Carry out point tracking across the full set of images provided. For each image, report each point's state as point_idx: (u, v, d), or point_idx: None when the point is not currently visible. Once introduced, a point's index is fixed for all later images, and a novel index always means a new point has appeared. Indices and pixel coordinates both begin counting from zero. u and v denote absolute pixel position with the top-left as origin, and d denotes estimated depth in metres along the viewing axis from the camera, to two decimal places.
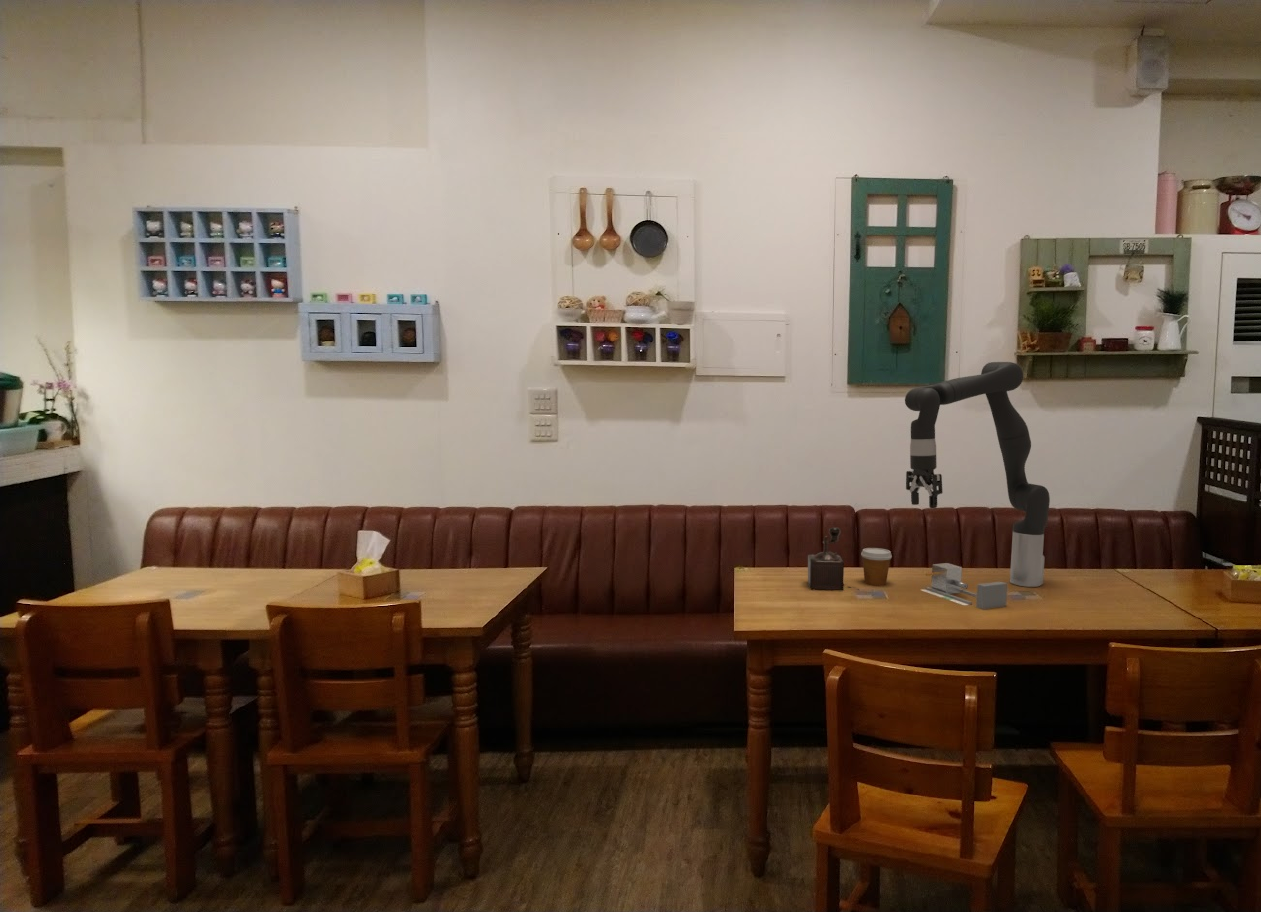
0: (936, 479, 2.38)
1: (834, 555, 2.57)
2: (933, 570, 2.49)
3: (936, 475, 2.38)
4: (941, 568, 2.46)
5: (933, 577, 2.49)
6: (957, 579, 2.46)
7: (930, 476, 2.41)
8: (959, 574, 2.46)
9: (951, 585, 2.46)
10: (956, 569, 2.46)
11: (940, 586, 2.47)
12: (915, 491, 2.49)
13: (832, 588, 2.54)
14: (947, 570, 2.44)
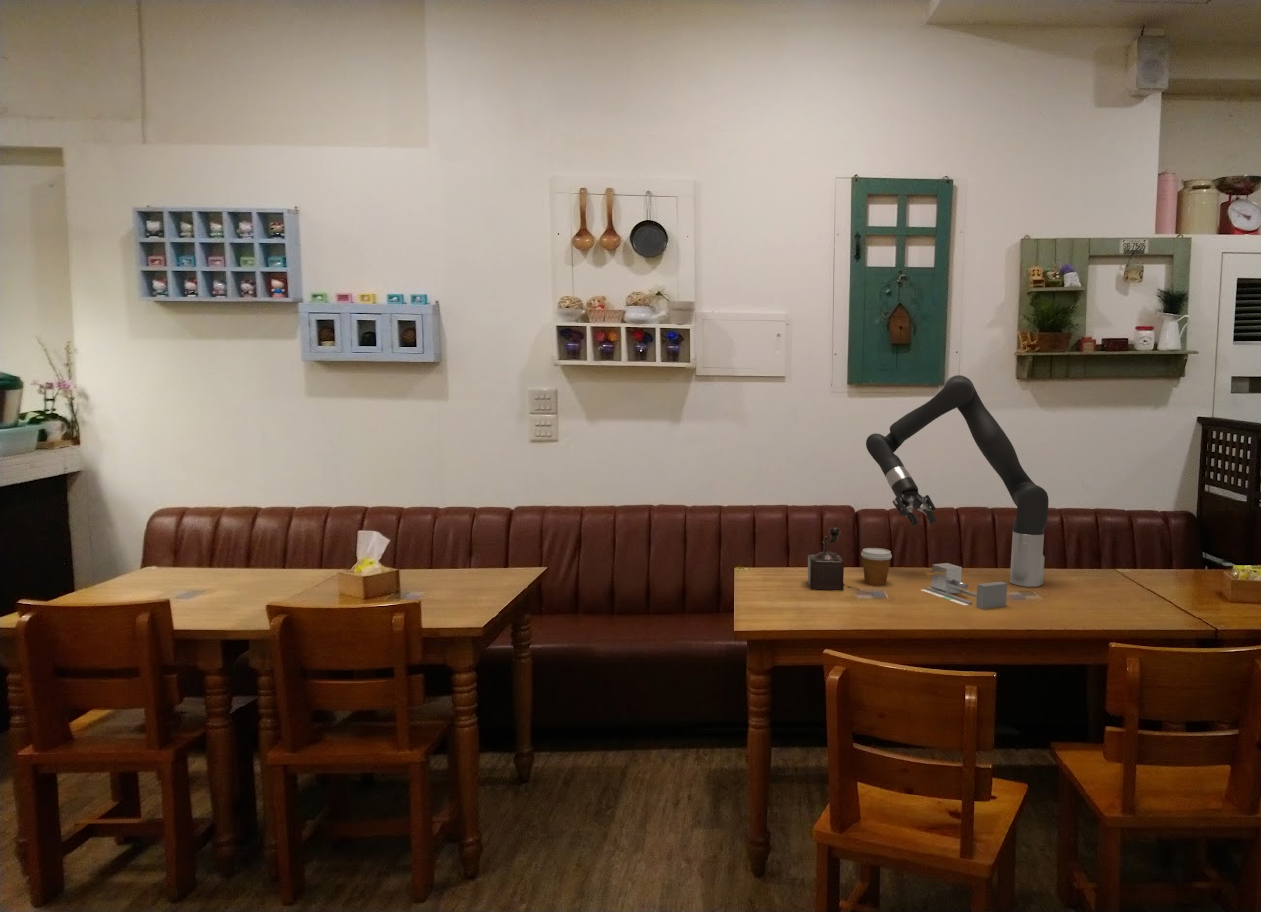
0: (895, 503, 2.62)
1: (834, 555, 2.57)
2: (933, 570, 2.49)
3: (893, 500, 2.62)
4: (941, 568, 2.46)
5: (933, 577, 2.49)
6: (957, 579, 2.46)
7: None
8: (959, 574, 2.46)
9: (951, 585, 2.46)
10: (956, 569, 2.46)
11: (940, 586, 2.47)
12: (927, 512, 2.63)
13: (832, 588, 2.54)
14: (947, 570, 2.44)
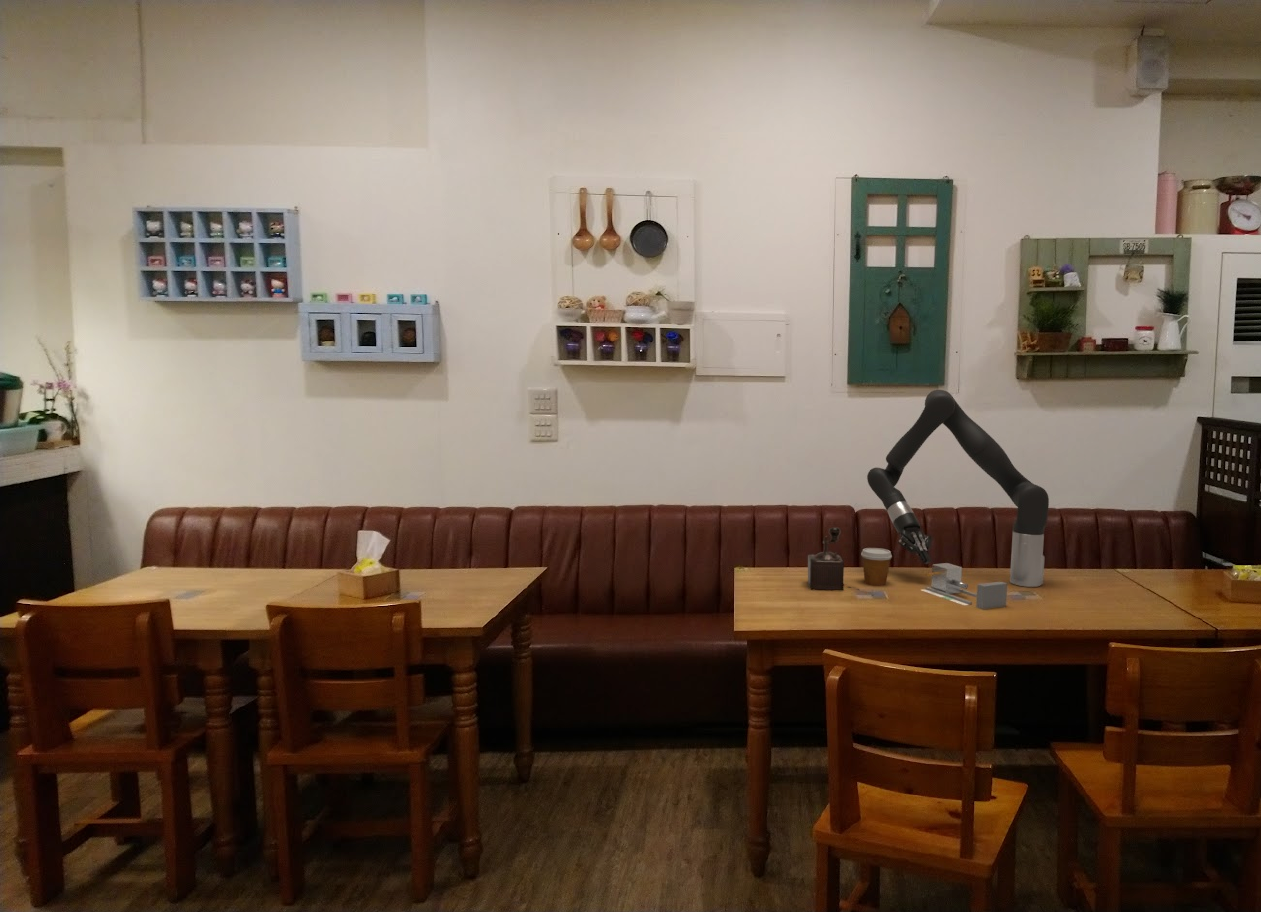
0: (902, 544, 2.59)
1: (834, 555, 2.57)
2: (933, 570, 2.49)
3: (899, 541, 2.59)
4: (941, 568, 2.46)
5: (933, 577, 2.49)
6: (957, 579, 2.46)
7: None
8: (959, 574, 2.46)
9: (951, 585, 2.46)
10: (956, 569, 2.46)
11: (940, 586, 2.47)
12: None
13: (832, 588, 2.54)
14: (947, 570, 2.44)
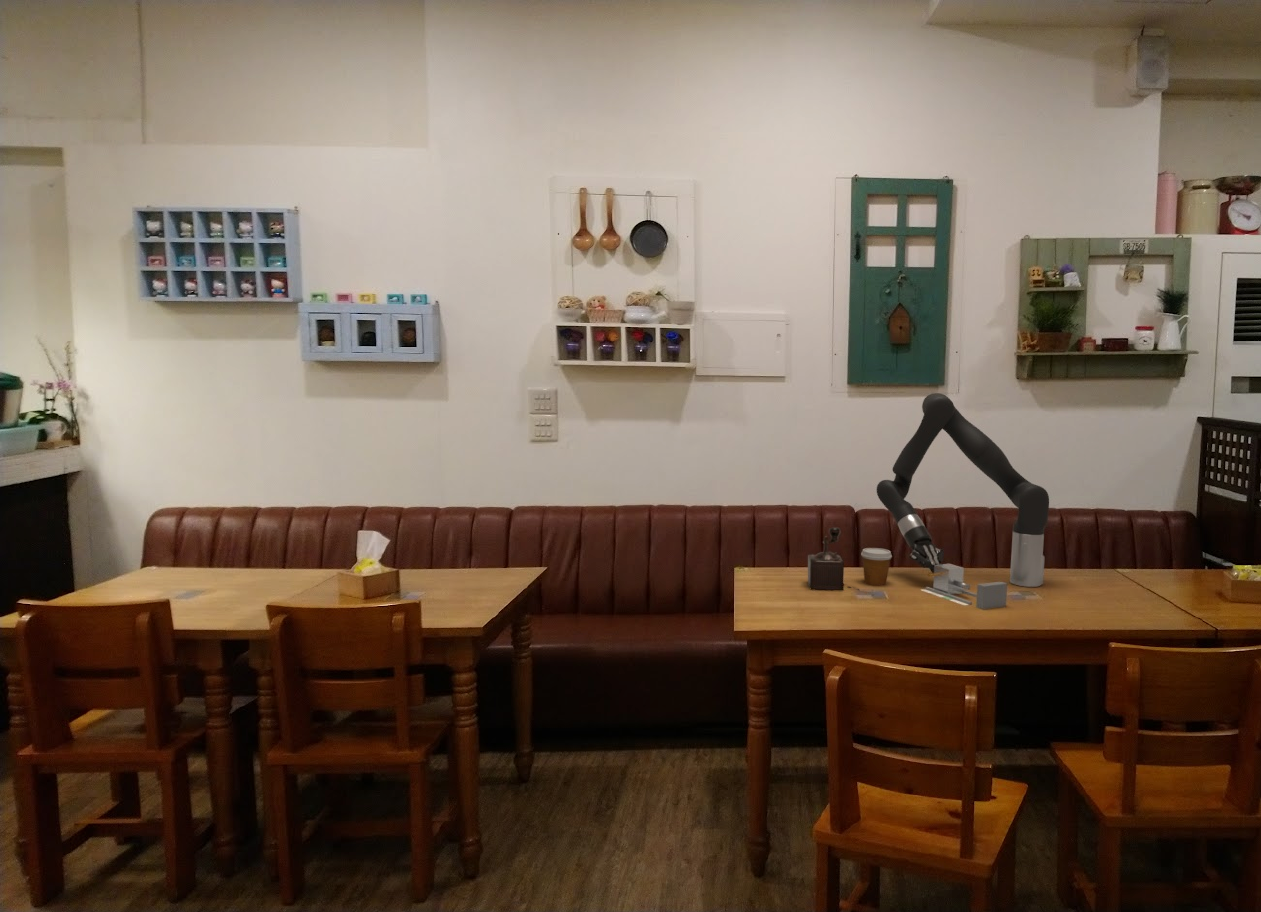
0: (913, 558, 2.54)
1: (834, 555, 2.57)
2: (935, 571, 2.49)
3: (910, 555, 2.54)
4: (943, 569, 2.45)
5: (935, 578, 2.49)
6: (959, 580, 2.46)
7: None
8: (961, 575, 2.46)
9: (953, 586, 2.45)
10: (958, 570, 2.45)
11: (942, 586, 2.46)
12: None
13: (832, 588, 2.54)
14: (949, 571, 2.44)
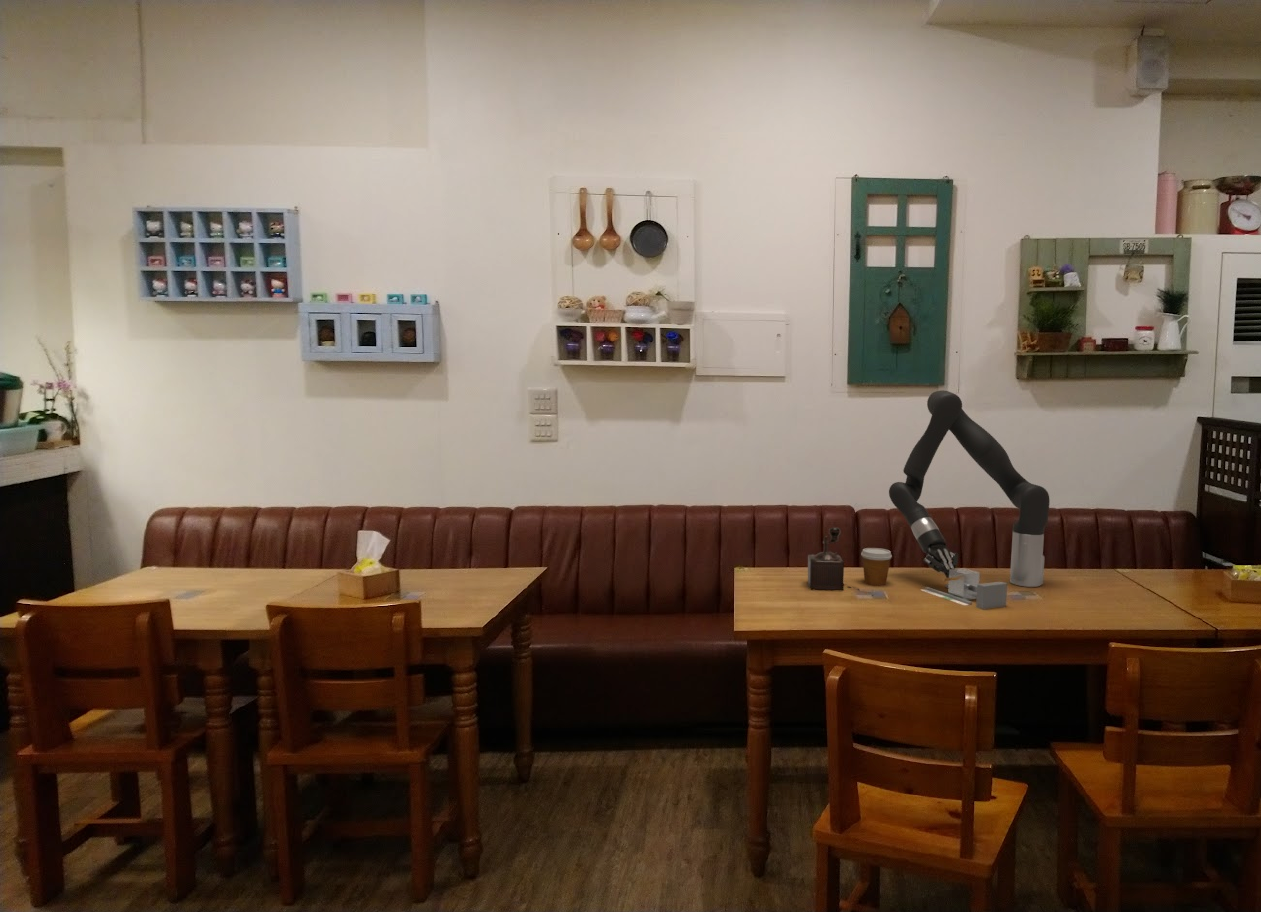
0: (927, 563, 2.48)
1: (834, 555, 2.57)
2: (950, 575, 2.43)
3: (925, 560, 2.48)
4: (958, 573, 2.40)
5: (950, 582, 2.43)
6: (975, 585, 2.40)
7: None
8: (977, 579, 2.40)
9: (969, 591, 2.39)
10: (974, 574, 2.39)
11: (957, 592, 2.41)
12: (948, 570, 2.48)
13: (832, 588, 2.54)
14: (965, 575, 2.38)
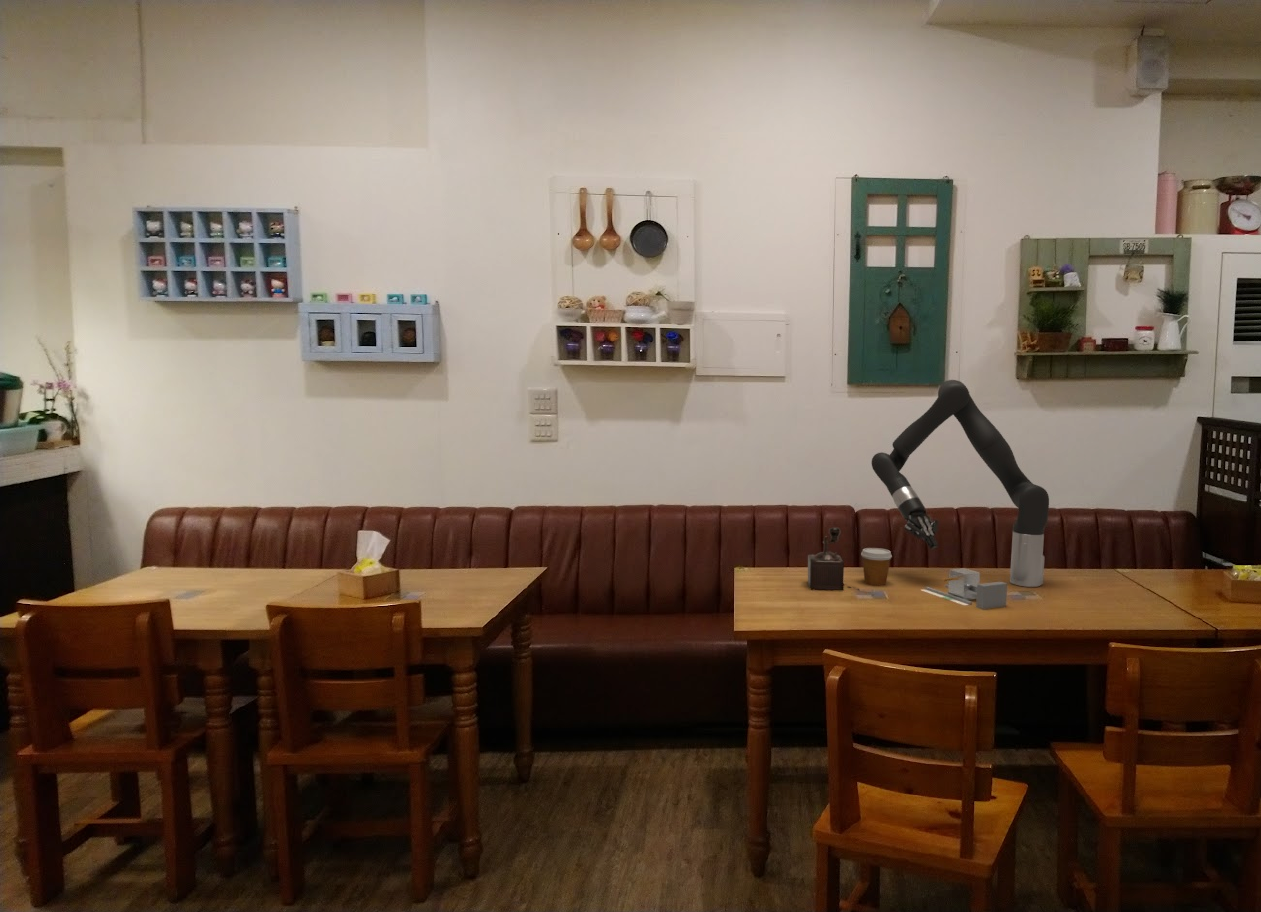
0: (908, 529, 2.56)
1: (834, 555, 2.57)
2: (950, 575, 2.43)
3: (905, 527, 2.56)
4: (959, 573, 2.40)
5: (950, 583, 2.43)
6: (975, 585, 2.40)
7: None
8: (977, 580, 2.40)
9: (969, 591, 2.39)
10: (974, 574, 2.39)
11: (957, 592, 2.40)
12: None
13: (832, 588, 2.54)
14: (965, 575, 2.38)
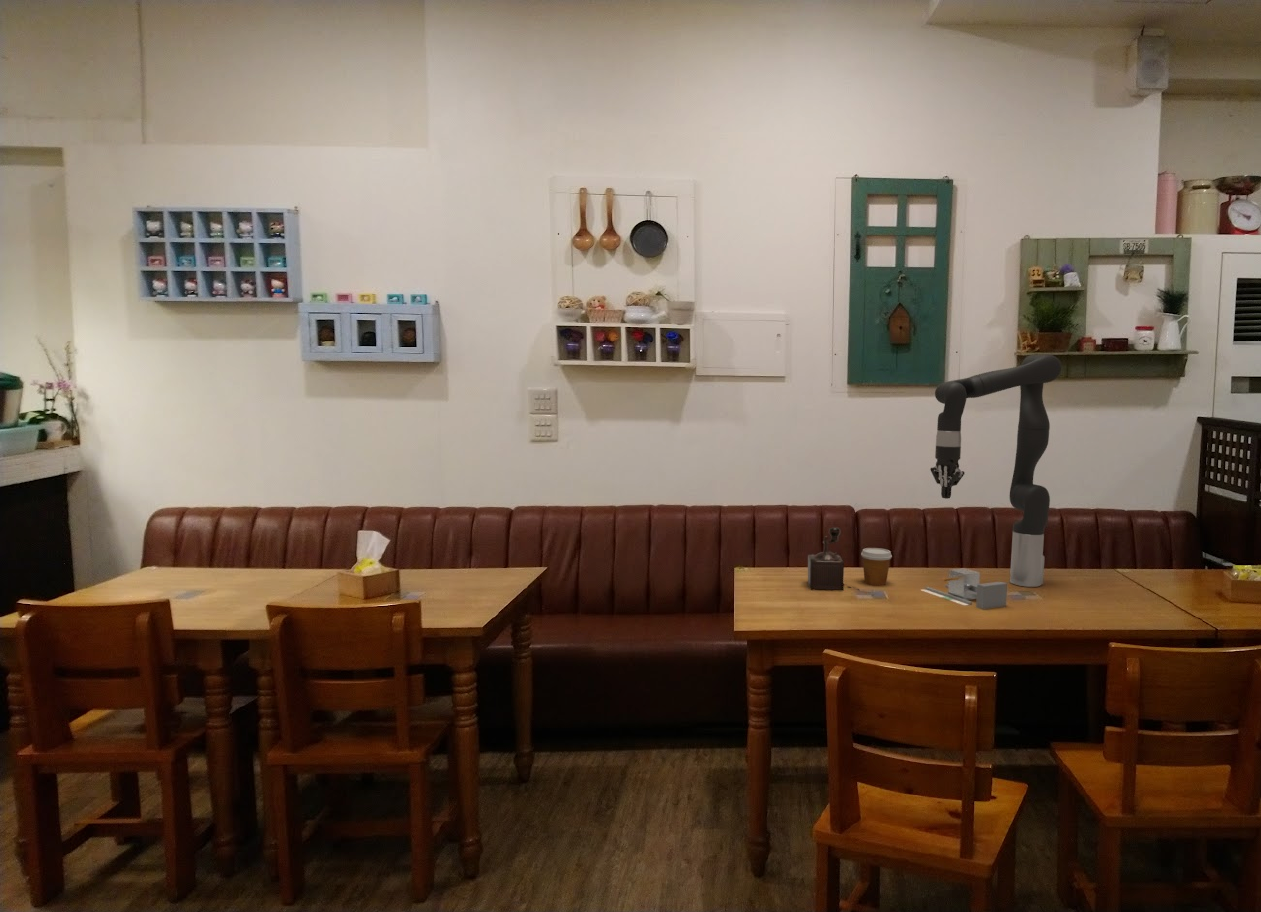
0: (958, 476, 2.52)
1: (834, 555, 2.57)
2: (950, 575, 2.43)
3: (960, 473, 2.52)
4: (959, 573, 2.40)
5: (950, 583, 2.43)
6: (975, 585, 2.40)
7: (954, 468, 2.54)
8: (977, 580, 2.40)
9: (969, 591, 2.39)
10: (974, 574, 2.39)
11: (957, 592, 2.40)
12: None
13: (832, 588, 2.54)
14: (965, 575, 2.38)
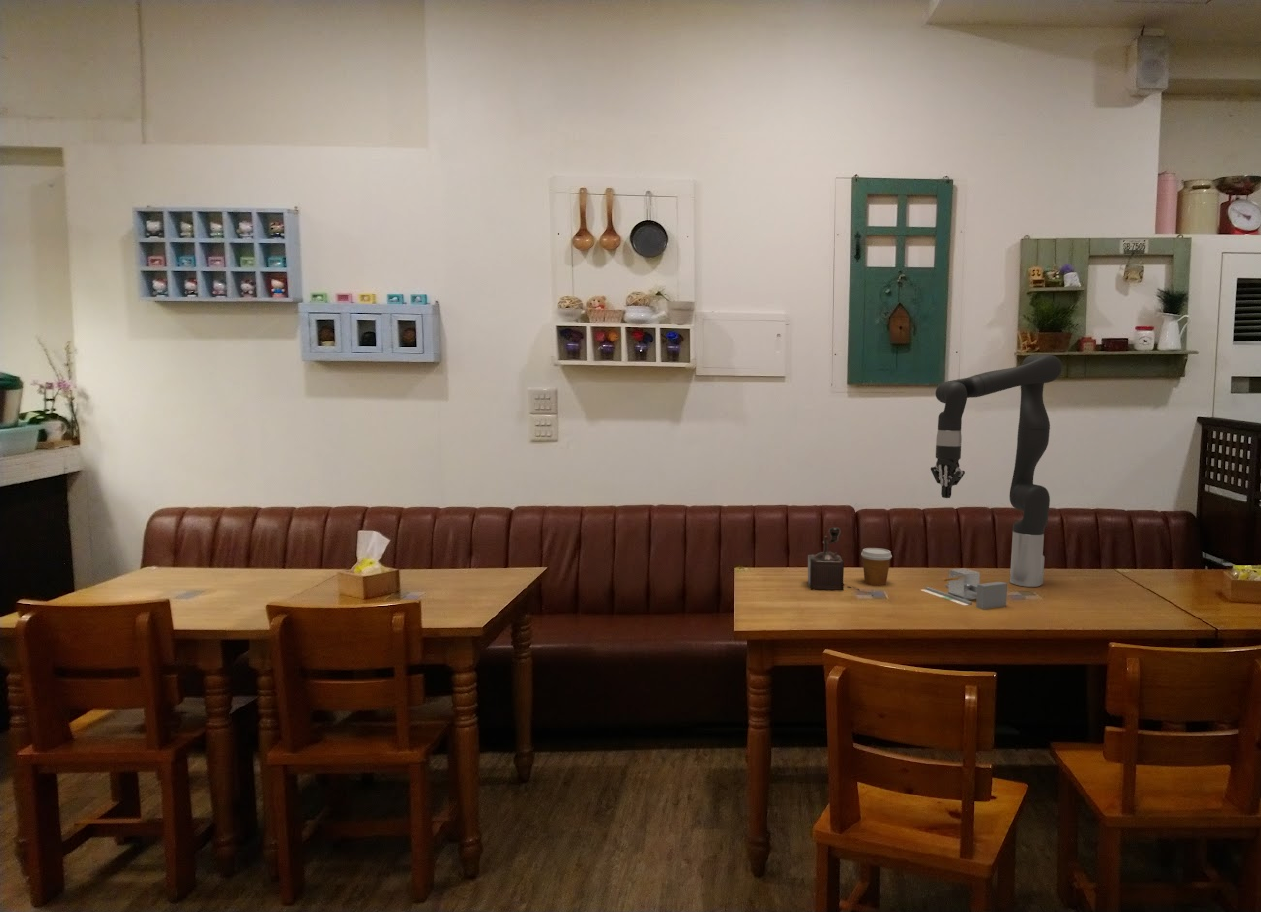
0: (958, 476, 2.52)
1: (834, 555, 2.57)
2: (950, 575, 2.43)
3: (960, 473, 2.52)
4: (959, 573, 2.40)
5: (950, 583, 2.43)
6: (975, 585, 2.40)
7: (955, 468, 2.54)
8: (977, 580, 2.40)
9: (969, 591, 2.39)
10: (974, 574, 2.39)
11: (957, 592, 2.40)
12: None
13: (832, 588, 2.54)
14: (965, 575, 2.38)
